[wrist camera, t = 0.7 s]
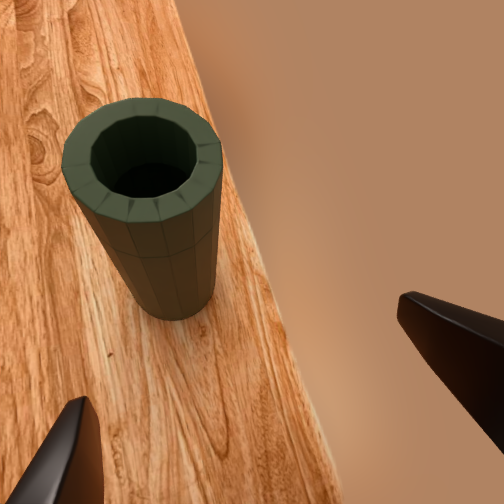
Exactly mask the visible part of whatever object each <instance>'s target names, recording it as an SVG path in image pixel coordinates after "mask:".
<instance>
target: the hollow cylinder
mask: <svg viewBox="0 0 504 504" xmlns="http://www.w3.org/2000/svg"><path fill="white" fill-rule="evenodd" d="M61 168H62V173H63V175H64V178H65V180H66V182H67V185H68V187H69V190H70V192H71V194H72V196H73V197H74V199H75V201H76V202H77V204H78V205H79V207H80V209H81V210H82V212H83V214H84V215H85V217H86V219H87V220H88V222H89V224H90V225H91V227H92V229H93V230H94V232H95V234H96V235H97V237H98V239H99V240H100V242H101V244H102V245H103V247H104V249H105V250H106V252H107V254H108V255H109V257H110V258H111V260H112V262H113V263H114V265H115V267H116V268H117V270H118V272H119V273H120V275H121V277H122V278H123V280H124V282H125V283H126V285H127V287H128V288H129V290H130V291H131V293H132V295H133V296H134V298H135V300H136V301H137V303H138V304H139V305H140V306H141V307H142V308H143V309H144V310H145V311H146V312H147V313H148V314H150V315H152V316H154V317H156V318H159V319H163V320H181V319H185V318H188V317H190V316H192V315H194V314H196V313H197V312H199V311H200V310H201V309H202V308H203V307H204V306H205V305H206V304H207V303H208V301H209V299H210V298H211V295H212V293H213V289H214V285H215V278H216V264H217V249H218V235H219V221H220V205H221V191H222V176H223V157H222V146H221V142H220V140H219V138H218V137H217V135H216V133H215V132H214V130H213V129H212V127H211V125H210V124H209V122H207V121H206V120H205V119H203V118H202V117H201V116H199V115H198V114H196V113H195V112H194V111H192V110H191V109H190V108H188V107H187V106H185V105H181V104H178V103H175V102H172V101H169V100H165V99H162V98H161V99H160V98H132V99H131V98H128V99H125V100H121V101H117V102H114V103H110V104H107V105H104V106H101V107H100V108H98V109H97V110H95V111H94V112H92V113H91V114H89V115H88V116H86V117H85V118H83V119H82V120H81V121H79V122H78V124H77V125H76V127H75V128H74V129H73V131H72V132H71V134H70V135H69V137H68V138H67V140H66V141H65V144H64V150H63V157H62V165H61Z"/></svg>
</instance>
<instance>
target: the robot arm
mask: <svg viewBox="0 0 504 504" xmlns="http://www.w3.org/2000/svg"><path fill="white" fill-rule="evenodd" d="M397 319H398V322H399V324H400V325H401V327H402V328H403V329H404V331H405V332H406V334H407V335H408V337H409V338H410V340H411V341H412V343H413V344H414V345H415V347H416V348H417V350H418V351H419V353H420V354H421V356H422V357H423V358H424V360H425V361H426V362H427V364H428V365H429V366H430V368H431V369H432V370H433V371H434V372H435V374H436V375H437V376H438V377H439V378H440V380H441V381H442V382H443V383H444V384H445V386H447V388H448V389H449V390H450V391H451V393H452V394H453V395H454V396H455V397H456V398H457V400H458V401H459V402H460V403H461V404H462V406H463V407H464V408H465V409H466V410H467V412H468V413H469V414H470V415H471V416H472V418H473V419H474V420H475V421H476V422H477V423H478V425H479V426H480V427H481V428H482V429H483V431H484V432H485V433H486V434H487V435H488V436H489V438H490V439H491V440H492V441H493V442H494V443H495V445H496V446H497V447H498V448H499V450H501V452H502V453H503V454H504V321H503V320H500V319H497V318H494V317H491V316H488V315H484V314H482V313H479V312H476V311H473V310H470V309H466V308H464V307H461V306H458V305H455V304H452V303H449V302H446V301H443V300H439V299H436V298H434V297H430V296H428V295H425V294H422V293H419V292H415V291H410V292H407V293H404V294H402V295H401V296H400V297H399V303H398V309H397ZM5 504H104V475H103V462H102V449H101V436H100V424H99V419H98V416H97V414H96V412H95V410H94V408H93V406H92V404H91V402H90V400H89V398H88V397H87V396H81V397H78V398H75V399H72V400H70V401H68V402H67V404H66V405H65V407H64V408H63V410H62V412H61V413H60V415H59V417H58V418H57V420H56V421H55V423H54V425H53V426H52V428H51V430H50V431H49V433H48V434H47V436H46V438H45V439H44V441H43V443H42V444H41V446H40V448H39V449H38V451H37V452H36V454H35V456H34V457H33V459H32V461H31V462H30V464H29V465H28V467H27V469H26V470H25V472H24V474H23V475H22V477H21V479H20V480H19V482H18V483H17V485H16V487H15V488H14V490H13V492H12V493H11V495H10V496H9V498H8V500H7V501H6V503H5Z"/></svg>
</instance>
